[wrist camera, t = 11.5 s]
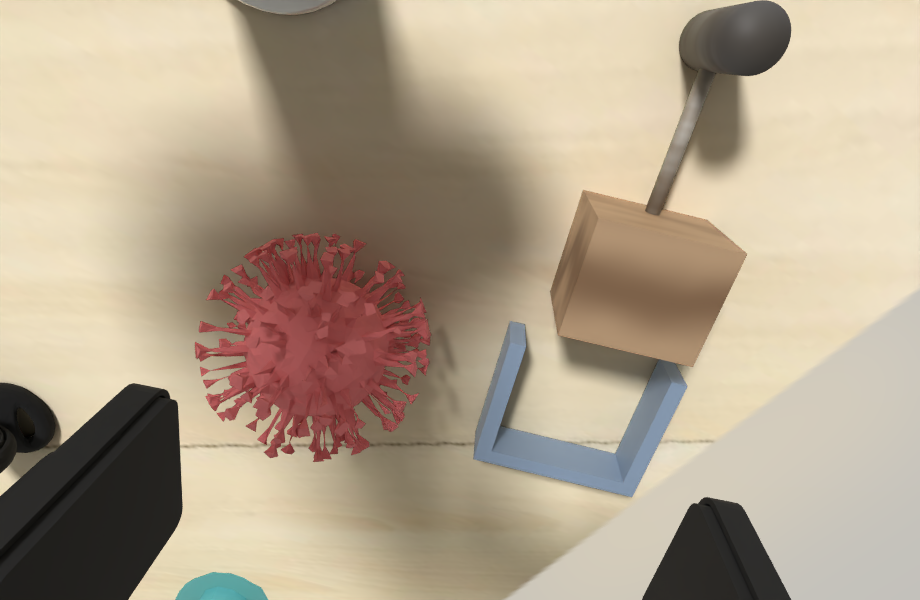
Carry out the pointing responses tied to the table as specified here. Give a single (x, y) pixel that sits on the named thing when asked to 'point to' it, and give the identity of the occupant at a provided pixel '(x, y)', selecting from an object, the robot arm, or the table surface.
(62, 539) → the robot arm
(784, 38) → the tether block
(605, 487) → the blue-grey u-shaped piece
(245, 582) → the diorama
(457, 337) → the table surface
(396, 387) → the virus model
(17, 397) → the webcam
